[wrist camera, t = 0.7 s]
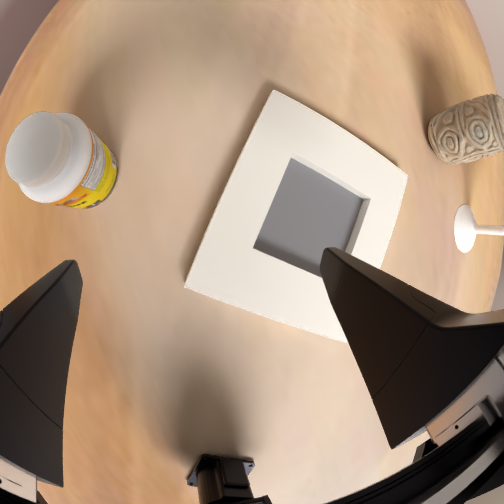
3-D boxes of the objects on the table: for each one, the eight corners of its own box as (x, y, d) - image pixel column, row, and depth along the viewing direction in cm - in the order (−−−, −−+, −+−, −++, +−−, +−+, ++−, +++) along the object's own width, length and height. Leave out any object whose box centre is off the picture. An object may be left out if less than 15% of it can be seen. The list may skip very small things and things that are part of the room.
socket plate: (340, 337, 26) (347, 343, 24) (184, 283, 22) (183, 287, 21) (399, 177, 26) (408, 175, 25) (268, 96, 22) (273, 89, 21)
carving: (450, 126, 28) (515, 109, 16) (450, 174, 28) (523, 166, 17) (421, 104, 26) (491, 77, 15) (421, 155, 27) (502, 137, 15)
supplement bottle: (54, 198, 19) (-17, 185, 9) (78, 138, 19) (21, 91, 9) (106, 218, 20) (48, 213, 10) (130, 155, 20) (93, 105, 10)
